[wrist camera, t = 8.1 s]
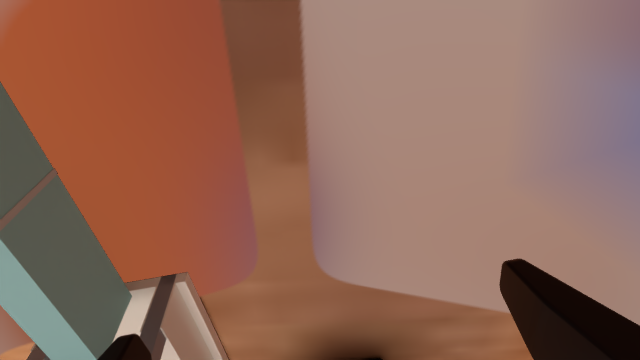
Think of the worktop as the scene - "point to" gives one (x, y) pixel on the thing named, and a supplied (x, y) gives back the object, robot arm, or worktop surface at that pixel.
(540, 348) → the robot arm
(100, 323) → the teal square rod
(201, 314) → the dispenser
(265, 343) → the worktop surface
